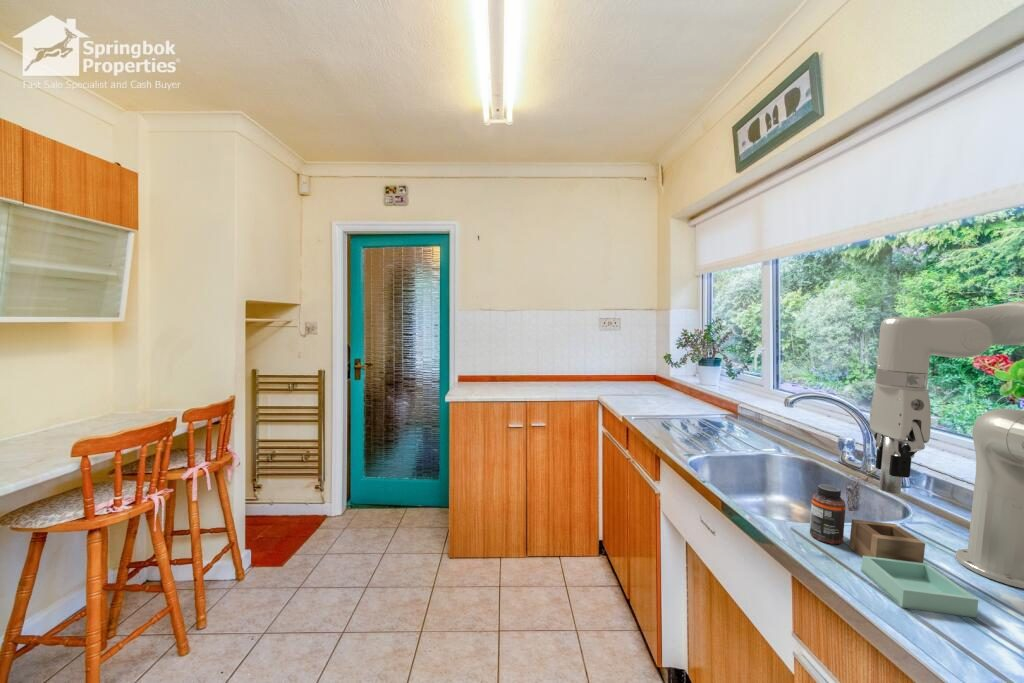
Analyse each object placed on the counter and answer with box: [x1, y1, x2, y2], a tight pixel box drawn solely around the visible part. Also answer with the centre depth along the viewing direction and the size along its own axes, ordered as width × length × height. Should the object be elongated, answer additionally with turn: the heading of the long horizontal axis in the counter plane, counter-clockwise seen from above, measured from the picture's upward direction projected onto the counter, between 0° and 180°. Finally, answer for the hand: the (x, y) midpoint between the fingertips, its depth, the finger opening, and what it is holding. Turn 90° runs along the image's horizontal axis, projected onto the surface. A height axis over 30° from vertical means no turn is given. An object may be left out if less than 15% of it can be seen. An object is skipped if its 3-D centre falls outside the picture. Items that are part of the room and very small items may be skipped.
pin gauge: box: [878, 435, 907, 495], centre depth 85 cm, size 3×3×12 cm
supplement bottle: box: [809, 484, 846, 545], centre depth 94 cm, size 6×6×11 cm
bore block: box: [849, 518, 926, 563], centre depth 86 cm, size 8×8×6 cm
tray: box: [860, 556, 979, 618], centre depth 75 cm, size 11×11×3 cm
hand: (891, 472), depth 85 cm, fingers closed on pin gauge, 3 cm apart
